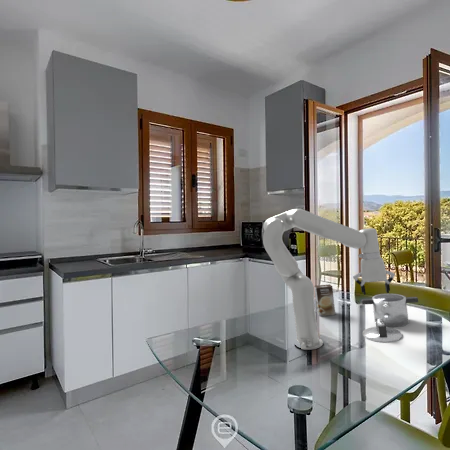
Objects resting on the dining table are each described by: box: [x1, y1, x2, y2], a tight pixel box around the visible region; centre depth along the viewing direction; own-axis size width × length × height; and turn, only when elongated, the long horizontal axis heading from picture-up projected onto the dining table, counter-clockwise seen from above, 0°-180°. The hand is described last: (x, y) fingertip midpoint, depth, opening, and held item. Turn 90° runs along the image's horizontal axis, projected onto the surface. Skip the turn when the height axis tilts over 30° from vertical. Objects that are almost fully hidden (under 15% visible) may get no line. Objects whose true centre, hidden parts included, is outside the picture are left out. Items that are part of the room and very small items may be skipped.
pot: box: [361, 293, 419, 328], centre depth 161 cm, size 25×15×12 cm, turn 73°
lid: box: [362, 318, 403, 343], centre depth 147 cm, size 16×16×6 cm
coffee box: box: [314, 284, 336, 317], centre depth 185 cm, size 9×6×16 cm
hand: (375, 293), depth 147 cm, fingers open, 9 cm apart
